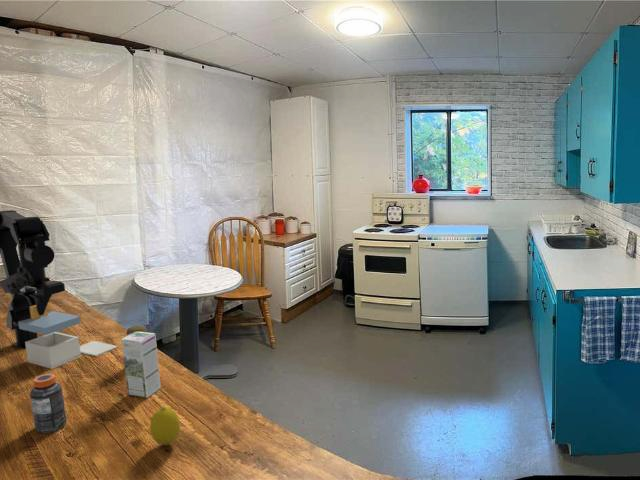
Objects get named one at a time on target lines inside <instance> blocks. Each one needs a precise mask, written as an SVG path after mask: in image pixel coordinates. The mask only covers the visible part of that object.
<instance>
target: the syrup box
mask: <svg viewBox="0 0 640 480" xmlns="http://www.w3.org/2000/svg"><path fill="white" fill-rule="evenodd" d="M121 347H122V356H123V364H124V365H123V366H124V374H125V380H126V381H125V382H126V390H127V396H132V397H136V398H137V397H138V398H145V399H147V398H149V397H151V396H152V395H153V394H155V393H156V392H157V391H159V390H161V388H162V386H161V379H160V377H161V376H160V366H159V358H158V348H157V347H158V346H157V337H156V333H155V332H148V331H147V332H137V331H136V332H133V333H131V334H129V335H127V334H126V335H125V337H123V338H121Z"/></svg>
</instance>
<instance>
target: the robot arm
mask: <svg viewBox="0 0 640 480" xmlns="http://www.w3.org/2000/svg"><path fill="white" fill-rule="evenodd" d="M49 241H50V232H49V231H48V228H47V226H46V224H45V223H44V221H43V220H42V219H41V218H40V217H39V216H36V215H35V216H27V217H26V216H24V215H23V214H20V213H19V212H17V210H14V209H11V210H0V258H1V262H2V265H3V266H2V267H3V269H4V273H5V276H6V277H5V279H3V280H1V281H0V286H1V288H2V290H3V292H4V294H10V295H11V298H10V301H9V304H8V307H7V308H8V310H7V314H6V318H5V319H6V320H5V321H6V326H7V328H8V329H10V330H11V331H14V336H15V341H16V342H13V343H11V346H13V347H16V348H19V349H26V345H25V342H27V341H30V340H32V339H35V338H38V337H39V336H38V333H35V332H31V331H27V330H22V329H19V324H18V322H20V321H23V320H26V319H29V318H31V314H30V306H34V305H36V306H37V310H38V313H39V315H40V316H41V315H43V314H44V312H45V309H46V307H47V308H48V304H49V301H50V299H51V297H52V295H54V294H59V293H62V292H65V291H66V285H65V283H63V282H62V281H60V280H59V281H58V280H52V281H51V280H50V277H47V276H46V268H49V265H50V264H52V262H54V259H55V252H54V249H53V248H52V247H50V246H49V245H48V244H47V245H46V242H49ZM17 249H18V250H17Z"/></svg>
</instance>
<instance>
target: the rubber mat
mask: <svg viewBox="0 0 640 480" xmlns="http://www.w3.org/2000/svg"><path fill="white" fill-rule="evenodd" d="M118 347H119V346H118V345H114V344H110V343H106V342H102V341H97V340H91V341H89V342H86V343H84V344H80V352H81V354H85V355H88V356H92V357H99V356H101V355H104V354H105V353H108V352H110V351H112V350H115V349H118Z"/></svg>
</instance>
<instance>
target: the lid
mask: <svg viewBox="0 0 640 480" xmlns="http://www.w3.org/2000/svg"><path fill="white" fill-rule="evenodd" d="M30 314H31V318H29V319H26V320H23V321H20V322H18V324H19V329H22V330H27V331H31V332H35V333H37V334H40V335H43V336H44V335H48V334H51V333H54V332H59V331H61V330H65V329H68V328H71V327H74V326H77V325H80V324H82V321H81V316H80V315H75V314H69V313H65V312H58V311H55V310H53V311H50V312H48V306H47V307H46V309H45V312H44V314H43V315H41V316H40V315H39V313H38V310H37V306H36V305H34V306H30Z"/></svg>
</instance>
